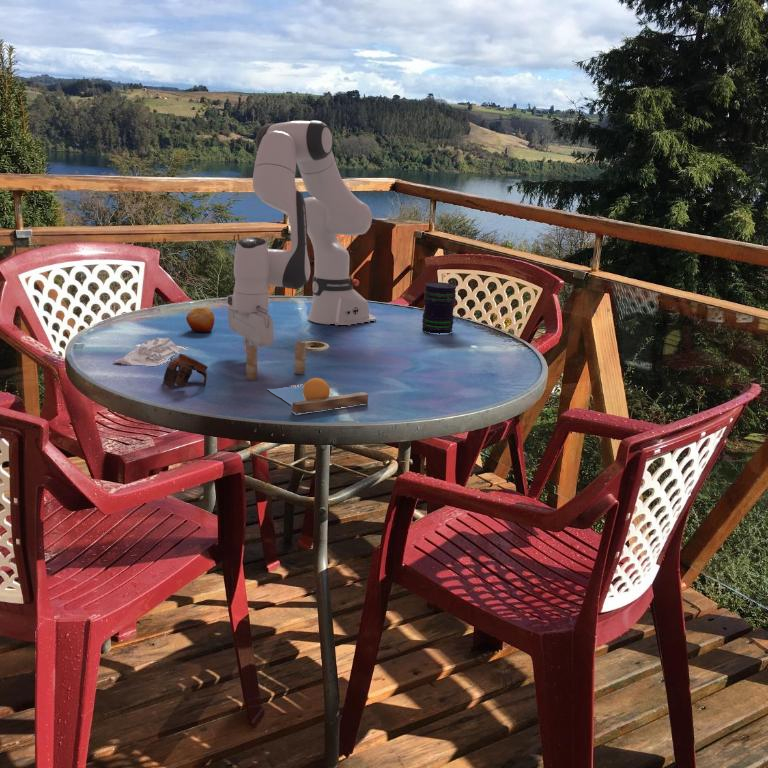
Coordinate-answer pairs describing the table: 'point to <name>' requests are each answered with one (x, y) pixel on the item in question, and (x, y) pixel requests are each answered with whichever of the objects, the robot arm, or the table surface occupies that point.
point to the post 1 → (251, 362)
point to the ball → (315, 389)
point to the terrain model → (152, 353)
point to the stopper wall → (330, 402)
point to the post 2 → (300, 357)
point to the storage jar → (438, 307)
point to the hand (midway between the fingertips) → (250, 354)
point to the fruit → (200, 319)
